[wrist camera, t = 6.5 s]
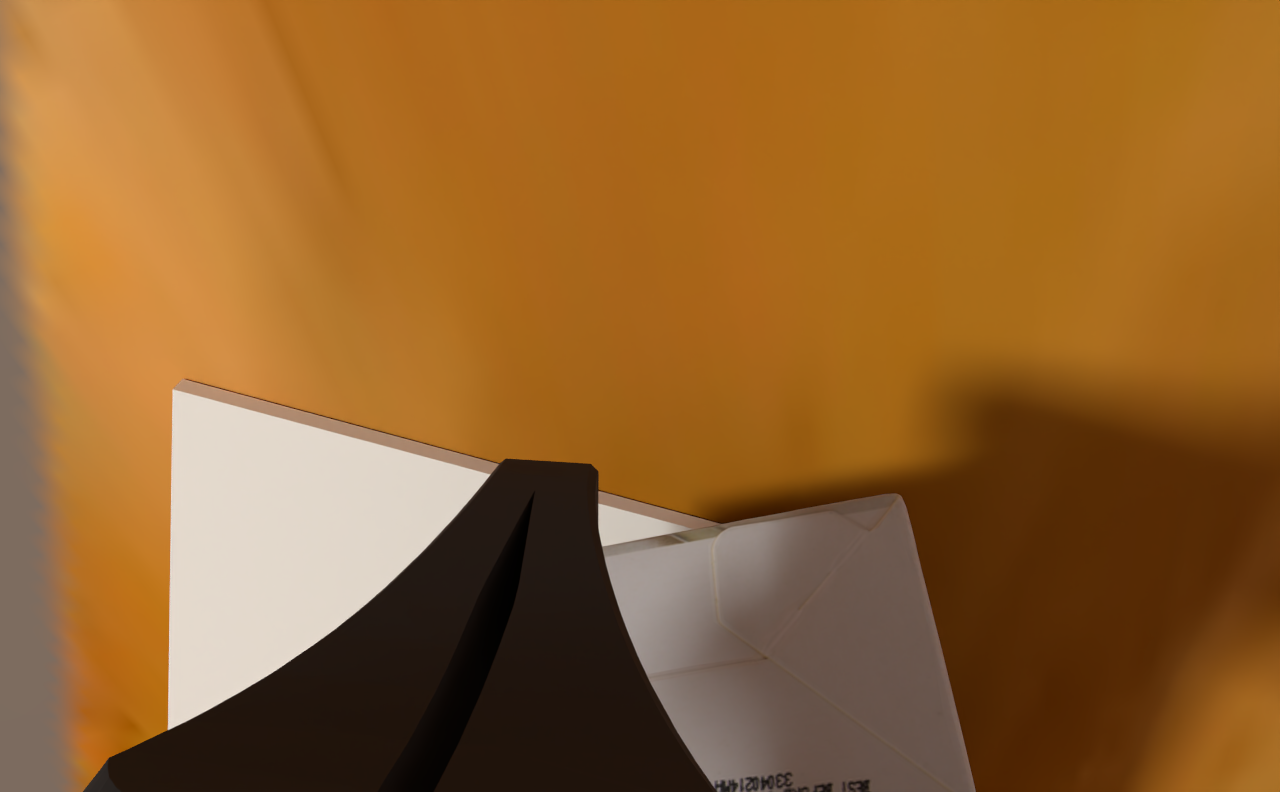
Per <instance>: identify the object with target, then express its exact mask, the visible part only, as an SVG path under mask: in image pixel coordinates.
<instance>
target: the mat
mask: <svg viewBox="0 0 1280 792" xmlns="http://www.w3.org/2000/svg"><path fill="white" fill-rule="evenodd" d="M498 465H499V464H497V463H493V462H490V461H486V460H482V459H478V458H475V457H471V456H467V455H464V454H460V453H456V452H452V451H449V450H445V449H441V448H438V447H434V446H430V445H426V444H423V443H419V442H415V441H412V440H408V439H404V438H400V437H397V436H393V435H389V434H386V433H382V432H378V431H374V430H371V429H367V428H363V427H360V426H356V425H352V424H348V423H345V422H341V421H337V420H334V419H330V418H326V417H322V416H319V415H315V414H311V413H308V412H304V411H300V410H296V409H293V408H289V407H285V406H282V405H278V404H274V403H270V402H267V401H263V400H259V399H256V398H252V397H248V396H245V395H241V394H237V393H233V392H230V391H226V390H222V389H219V388H215V387H211V386H207V385H204V384H200V383H196V382H193V381H189V380H185V379H182V380H181V381H180V382H179V383H178V384H177V385H176V386H175V387H174V389H173V411H172V482H171V553H170V624H169V695H168V730H169V729H171V728H174V727H176V726H178V725H180V724H182V723H184V722H186V721H188V720H190V719H192V718H194V717H196V716H198V715H200V714H201V713H203V712H205V711H207V710H209V709H211V708H213V707H214V706H216V705H218V704H220V703H222V702H223V701H225V700H227V699H229V698H231V697H232V696H234V695H236V694H238V693H240V692H241V691H243V690H245V689H246V688H248V687H250V686H251V685H253V684H255V683H256V682H258V681H260V680H261V679H263V678H265V677H266V676H268V675H269V674H271V673H273V672H274V671H276V670H277V669H279V668H280V667H282V666H283V665H285V664H286V663H288V662H289V661H291V660H292V659H293V658H295V657H296V656H298V655H299V654H301V653H302V652H304V651H305V650H307V649H308V648H310V647H311V646H313V645H314V644H315V643H317V642H318V641H320V640H321V639H322V638H324V637H325V636H326V635H328V634H329V633H331V632H332V631H333V630H335V629H336V628H337V627H338V626H340V625H341V624H342V623H343V622H345V621H346V620H347V619H348V618H350V617H351V616H352V615H353V614H355V613H356V612H357V611H358V610H360V609H361V608H362V607H363V606H364V605H366V604H367V603H368V602H369V601H370V600H371V599H373V598H374V597H375V596H376V595H377V594H378V593H379V592H381V591H382V590H383V589H384V588H385V587H386V586H387V585H388V584H389V583H390V582H391V581H392V580H394V579H395V578H396V577H397V576H398V575H399V574H400V573H401V572H402V571H403V570H404V569H405V568H406V567H407V566H408V565H409V564H410V563H411V562H412V561H413V560H414V559H415V558H416V557H418V556H419V555H420V554H421V553H422V552H423V551H424V550H425V549H426V547H427V546H428V545H429V544H430V543H431V542H432V541H433V540H434V539H435V538H436V537H437V536H438V535H439V534H440V533H441V531H442V530H443V529H444V528H445V527H446V526H447V525H448V524H449V523H450V522H451V521H452V520H453V518H454V517H455V516H456V515H457V514H458V513H459V512H460V511H461V509H462V508H463V507H464V506H465V505H466V504H467V503H468V501H469V500H470V499H471V498H472V497H473V495H474V494H475V493H476V492H477V491H478V490H479V488H480V487H481V486H482V485H483V483H484V482H485V481H486V480H487V478H488V477H489V476H490V475H491V473H492V472H493V471H494V470H495V468H496V467H497V466H498ZM719 524H720V523H716V522H712V521H709V520H705V519H701V518H697V517H694V516H690V515H686V514H683V513H679V512H675V511H671V510H668V509H664V508H660V507H657V506H653V505H649V504H645V503H642V502H638V501H634V500H631V499H627V498H623V497H619V496H616V495H612V494H608V493H605V492H601V491H598V529H599V534H600V540H601V544H602V547H603V546H608V545H613V544H618V543H624V542H629V541H634V540H639V539H645V538H650V537H655V536H660V535H666V534H671V533H676V532H681V531H687V530H692V529H698V528H703V527H709V526H714V525H719Z"/></svg>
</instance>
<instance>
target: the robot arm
mask: <svg viewBox="0 0 1280 792" xmlns="http://www.w3.org/2000/svg"><path fill="white" fill-rule="evenodd" d="M83 792H717V791H716V789H715V788H714V786H713V785H712V784H711V782H710V781H709V779H708V778H707V776H706V775H705V774H704V772H703V771H702V769H701V768H700V766H699V765H698V764H697V762H696V761H695V759H694V757H693V756H692V754H691V753H690V751H689V749H688V748H687V746H686V745H685V743H684V742H683V740H682V738H681V737H680V735H679V734H678V732H677V730H676V729H675V727H674V725H673V723H672V721H671V719H670V718H669V716H668V714H667V712H666V710H665V709H664V707H663V705H662V703H661V701H660V699H659V698H658V696H657V694H656V692H655V690H654V689H653V687H652V685H651V683H650V681H649V679H648V677H647V674H646V672H645V670H644V668H643V666H642V664H641V661H640V659H639V657H638V655H637V653H636V650H635V648H634V645H633V643H632V641H631V638H630V636H629V633H628V631H627V628H626V626H625V623H624V620H623V617H622V615H621V612H620V609H619V606H618V603H617V600H616V597H615V594H614V590H613V587H612V584H611V581H610V577H609V573H608V570H607V566H606V562H605V557H604V553H603V548H602V544H601V540H600V534H599V529H598V471H597V470H596V469H595V468H594V467H593V466H592V465H591V464H583V463H567V462H551V461H535V460H519V459H505V460H504V461H502V462H501V463H500V464H499V465H498V466H497V467H496V468H495V470H494V471H493V472H492V473H491V475H490V476H489V477H488V478H487V480H486V481H485V482H484V483H483V485H482V486H481V487H480V488H479V490H478V491H477V492H476V493H475V494H474V495H473V497H472V498H471V499H470V500H469V501H468V503H467V504H466V505H465V506H464V507H463V508H462V509H461V511H460V512H459V513H458V514H457V515H456V516H455V517H454V518H453V520H452V521H451V522H450V523H449V524H448V525H447V526H446V527H445V528H444V529H443V530H442V531H441V533H440V534H439V535H438V536H437V537H436V538H435V539H434V540H433V541H432V542H431V543H430V544H429V545H428V546H427V547H426V549H425V550H424V551H423V552H422V553H421V554H420V555H419V556H418V557H416V558H415V559H414V560H413V561H412V562H411V563H410V564H409V565H408V566H407V567H406V568H405V569H404V570H403V571H402V572H401V573H400V574H399V575H398V576H397V577H396V578H395V579H394V580H392V581H391V582H390V583H389V584H388V585H387V586H386V587H385V588H384V589H383V590H382V591H381V592H379V593H378V594H377V595H376V596H375V597H374V598H373V599H371V600H370V601H369V602H368V603H367V604H366V605H364V606H363V607H362V608H361V609H360V610H358V611H357V612H356V613H355V614H353V615H352V616H351V617H350V618H348V619H347V620H346V621H345V622H343V623H342V624H341V625H340V626H338V627H337V628H336V629H335V630H333V631H332V632H331V633H329V634H328V635H326V636H325V637H324V638H322V639H321V640H320V641H318V642H317V643H315V644H314V645H313V646H311V647H310V648H308V649H307V650H305V651H304V652H302V653H301V654H299V655H298V656H296V657H295V658H293V659H292V660H291V661H289V662H288V663H286V664H285V665H283V666H282V667H280V668H279V669H277V670H276V671H274V672H273V673H271V674H269V675H268V676H266V677H265V678H263V679H261V680H260V681H258V682H256V683H255V684H253V685H251V686H250V687H248V688H246V689H245V690H243V691H241V692H240V693H238V694H236V695H234V696H232V697H231V698H229V699H227V700H225V701H223V702H222V703H220V704H218V705H216V706H214V707H213V708H211V709H209V710H207V711H205V712H203V713H201V714H200V715H198V716H196V717H194V718H192V719H190V720H188V721H186V722H184V723H182V724H180V725H178V726H176V727H174V728H171V729H169V730H167V731H165V732H163V733H161V734H159V735H157V736H155V737H153V738H151V739H149V740H146V741H144V742H142V743H140V744H138V745H136V746H134V747H132V748H130V749H128V750H126V751H123V752H121V753H119V754H116V755H114V756H112V757H110V758H109V759H108V760H107V761H106V763H105V764H104V765H103V767H102V768H101V769H100V771H99V772H98V773H97V774H96V776H95V777H94V778H93V780H92V781H91V782H90V783H89V785H88V786H87V787H86V788H85V790H84V791H83Z"/></svg>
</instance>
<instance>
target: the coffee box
mask: <svg viewBox="0 0 1280 792" xmlns="http://www.w3.org/2000/svg"><path fill="white" fill-rule="evenodd" d="M602 548H603V553H604V557H605V562H606V566H607V570H608V573H609V577H610V581H611V584H612V587H613V590H614V594H615V597H616V600H617V603H618V606H619V609H620V612H621V615H622V617H623V620H624V623H625V626H626V628H627V631H628V633H629V636H630V638H631V641H632V643H633V645H634V648H635V650H636V653H637V655H638V657H639V659H640V661H641V664H642V666H643V668H644V670H645V672H646V674H647V677H648V679H649V681H650V683H651V685H652V687H653V689H654V690H655V692H656V694H657V696H658V698H659V699H660V701H661V703H662V705H663V707H664V709H665V710H666V712H667V714H668V716H669V718H670V719H671V721H672V723H673V725H674V727H675V729H676V730H677V732H678V734H679V735H680V737H681V738H682V740H683V742H684V743H685V745H686V746H687V748H688V749H689V751H690V753H691V754H692V756H693V757H694V759H695V761H696V762H697V764H698V765H699V766H700V768H701V769H702V771H703V772H704V774H705V775H706V776H707V778H708V779H709V781H710V782H711V784H712V785H713V786H714V788H715V789H716V791H717V792H976V790H975V786H974V781H973V777H972V773H971V769H970V764H969V760H968V756H967V751H966V747H965V743H964V739H963V735H962V731H961V726H960V722H959V718H958V714H957V710H956V706H955V701H954V697H953V693H952V689H951V685H950V681H949V677H948V673H947V668H946V664H945V660H944V656H943V652H942V648H941V644H940V640H939V636H938V632H937V628H936V624H935V620H934V616H933V612H932V608H931V604H930V600H929V596H928V592H927V588H926V585H925V581H924V577H923V573H922V569H921V565H920V561H919V556H918V552H917V548H916V543H915V539H914V534H913V530H912V527H911V523H910V519H909V515H908V511H907V508H906V505H905V503H904V501H903V499H902V496H901V495H899V494H897V493H893V494H882V495H877V496H872V497H865V498H859V499H853V500H848V501H843V502H837V503H832V504H826V505H820V506H815V507H809V508H804V509H799V510H794V511H789V512H784V513H779V514H774V515H768V516H762V517H756V518H751V519H745V520H740V521H735V522H730V523H725V524H719V525H714V526H709V527H703V528H698V529H692V530H687V531H681V532H676V533H671V534H666V535H660V536H655V537H650V538H645V539H639V540H634V541H629V542H624V543H618V544H613V545H608V546H603V547H602Z"/></svg>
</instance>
